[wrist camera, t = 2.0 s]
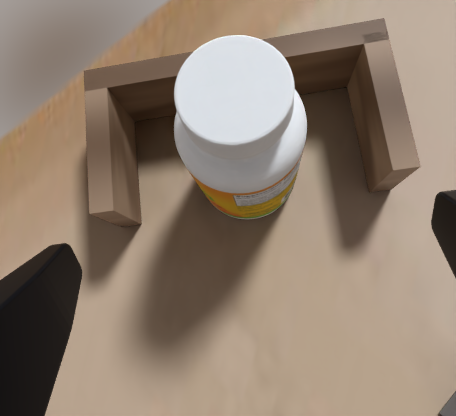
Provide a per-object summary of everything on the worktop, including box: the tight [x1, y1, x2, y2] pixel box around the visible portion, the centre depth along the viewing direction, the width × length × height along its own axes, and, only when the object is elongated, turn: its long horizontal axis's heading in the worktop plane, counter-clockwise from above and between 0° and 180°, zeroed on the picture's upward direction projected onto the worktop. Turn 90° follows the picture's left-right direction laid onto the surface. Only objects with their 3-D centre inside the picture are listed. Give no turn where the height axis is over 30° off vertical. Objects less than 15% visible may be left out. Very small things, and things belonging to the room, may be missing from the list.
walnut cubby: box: [84, 18, 420, 227], centre depth 20 cm, size 8×15×4 cm, turn 97°
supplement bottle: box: [174, 35, 307, 219], centre depth 17 cm, size 5×5×10 cm
